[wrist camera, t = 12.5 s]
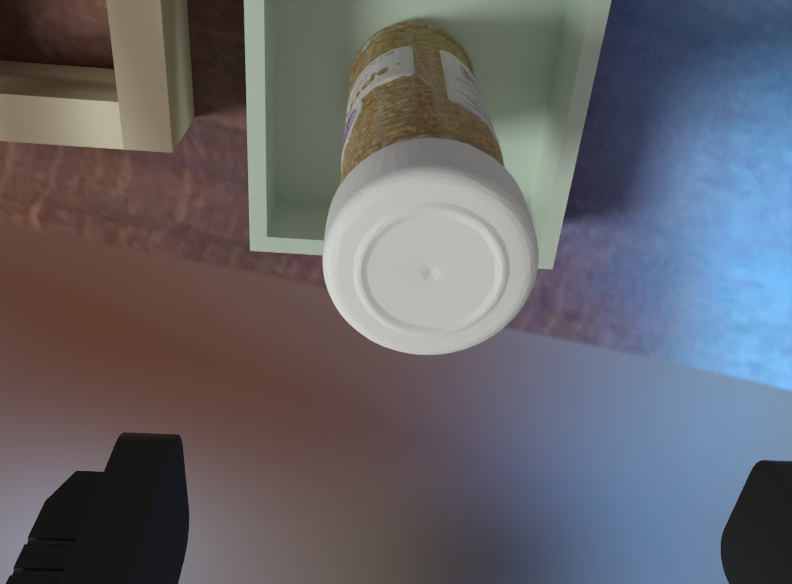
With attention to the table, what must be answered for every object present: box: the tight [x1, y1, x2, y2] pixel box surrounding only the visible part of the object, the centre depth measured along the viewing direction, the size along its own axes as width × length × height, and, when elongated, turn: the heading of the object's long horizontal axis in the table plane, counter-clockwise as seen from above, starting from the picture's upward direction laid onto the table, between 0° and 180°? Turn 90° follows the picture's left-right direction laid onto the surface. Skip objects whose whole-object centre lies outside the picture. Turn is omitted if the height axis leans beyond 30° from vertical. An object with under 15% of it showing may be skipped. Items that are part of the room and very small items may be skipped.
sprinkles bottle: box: [323, 21, 539, 355], centre depth 21 cm, size 5×5×14 cm
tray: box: [244, 0, 612, 269], centre depth 26 cm, size 11×11×4 cm
